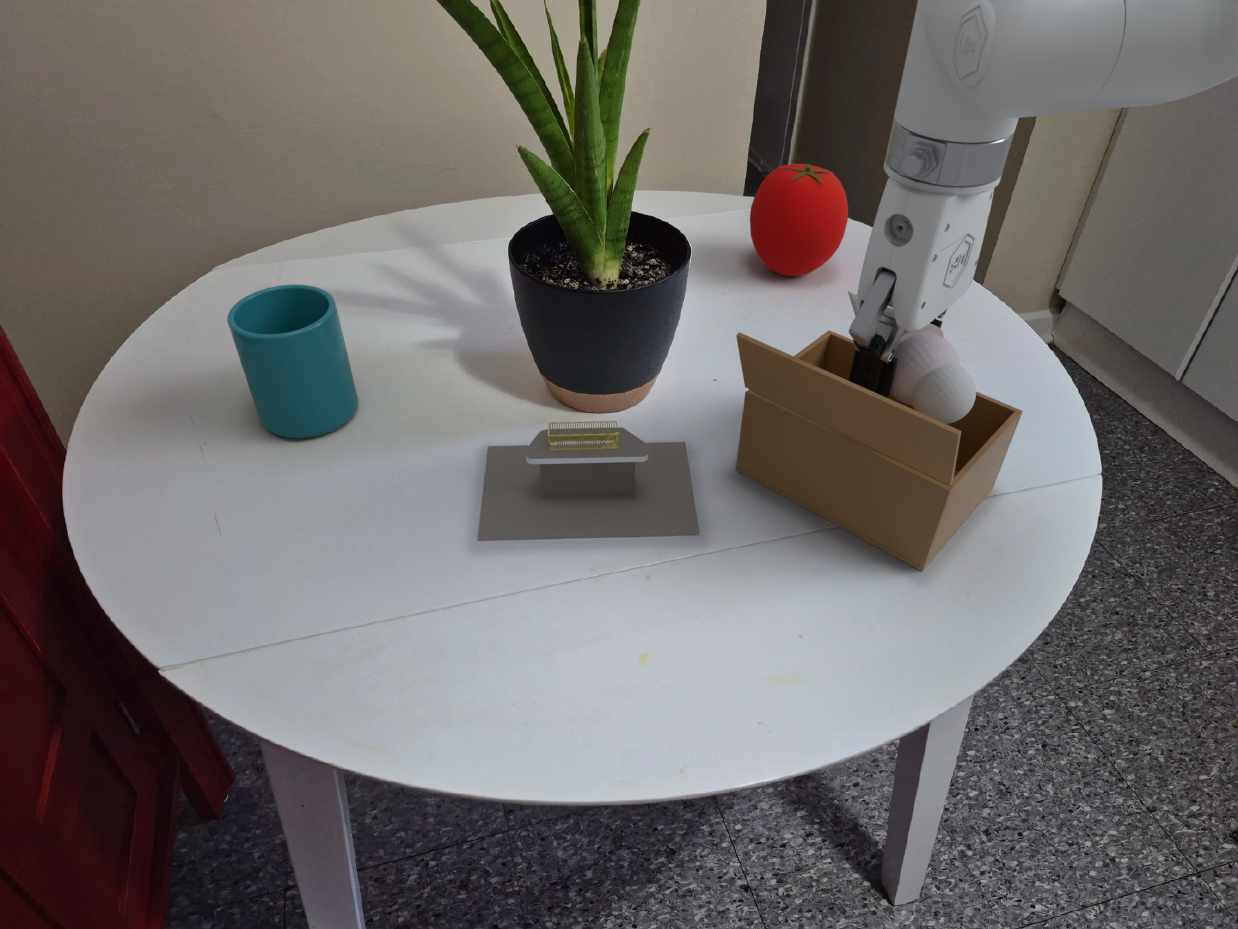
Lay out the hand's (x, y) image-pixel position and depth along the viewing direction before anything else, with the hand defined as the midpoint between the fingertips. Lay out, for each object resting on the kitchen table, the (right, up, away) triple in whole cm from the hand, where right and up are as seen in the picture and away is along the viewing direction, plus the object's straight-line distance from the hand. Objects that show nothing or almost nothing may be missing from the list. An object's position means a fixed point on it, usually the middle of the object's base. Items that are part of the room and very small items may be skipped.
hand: (889, 374), depth 69 cm
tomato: (-1, +16, +36) cm, 40 cm away
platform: (-24, -9, +6) cm, 27 cm away
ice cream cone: (0, -1, +1) cm, 1 cm away
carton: (0, -8, +7) cm, 11 cm away
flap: (-5, -3, -5) cm, 7 cm away
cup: (-51, -1, +15) cm, 53 cm away
